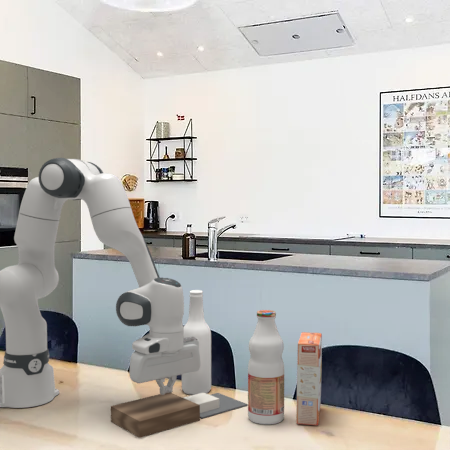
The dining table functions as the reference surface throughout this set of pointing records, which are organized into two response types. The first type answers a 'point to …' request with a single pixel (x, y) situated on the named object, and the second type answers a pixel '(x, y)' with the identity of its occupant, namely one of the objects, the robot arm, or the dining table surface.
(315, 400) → the cracker box
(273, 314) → the fruit juice
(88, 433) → the dining table surface
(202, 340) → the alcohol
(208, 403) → the tile
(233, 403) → the mat
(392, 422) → the dining table surface
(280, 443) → the dining table surface
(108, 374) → the dining table surface
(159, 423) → the board
